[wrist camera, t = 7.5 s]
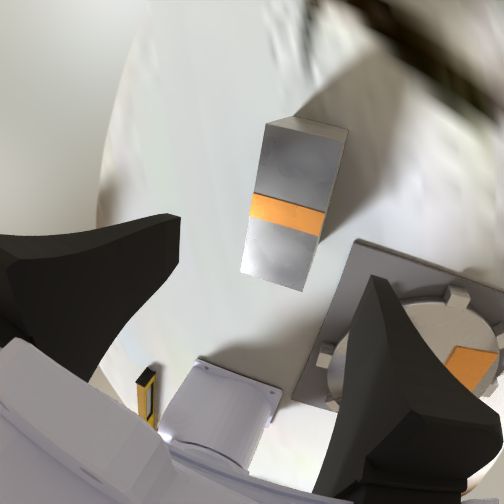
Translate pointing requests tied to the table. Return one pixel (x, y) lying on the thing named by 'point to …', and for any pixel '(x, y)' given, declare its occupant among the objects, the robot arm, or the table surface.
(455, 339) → the sprocket
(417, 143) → the table surface
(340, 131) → the orange striped gray block
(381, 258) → the base plate
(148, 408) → the spirit level
